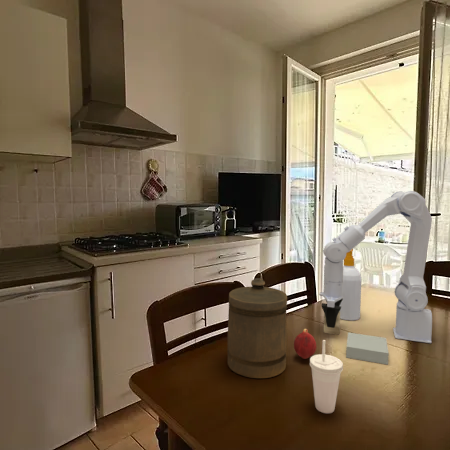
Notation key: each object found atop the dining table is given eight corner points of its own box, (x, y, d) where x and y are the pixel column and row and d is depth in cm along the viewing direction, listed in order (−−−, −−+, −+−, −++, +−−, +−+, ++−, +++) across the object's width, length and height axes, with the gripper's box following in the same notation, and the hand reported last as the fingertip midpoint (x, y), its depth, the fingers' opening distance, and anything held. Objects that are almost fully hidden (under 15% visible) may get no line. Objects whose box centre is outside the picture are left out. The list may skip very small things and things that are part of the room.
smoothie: (304, 398, 71) (305, 334, 69) (333, 397, 71) (335, 333, 70) (315, 418, 64) (316, 348, 63) (347, 416, 65) (349, 346, 64)
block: (339, 329, 108) (340, 311, 107) (338, 334, 103) (339, 316, 103) (325, 327, 109) (325, 309, 109) (323, 332, 105) (324, 314, 105)
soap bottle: (362, 314, 121) (365, 249, 119) (357, 322, 113) (360, 252, 111) (338, 310, 126) (340, 247, 124) (331, 317, 118) (333, 250, 116)
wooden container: (290, 355, 90) (291, 274, 88) (280, 384, 76) (282, 289, 74) (237, 347, 95) (237, 270, 93) (219, 372, 81) (219, 283, 79)
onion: (316, 365, 84) (317, 334, 84) (293, 363, 86) (294, 332, 85) (315, 354, 90) (316, 326, 89) (293, 352, 91) (294, 324, 91)
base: (385, 348, 94) (386, 337, 94) (388, 364, 85) (388, 353, 85) (347, 342, 98) (348, 332, 98) (346, 357, 89) (346, 346, 88)
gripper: (322, 274, 113) (321, 313, 114) (317, 284, 100) (315, 329, 101) (344, 276, 110) (343, 316, 112) (342, 287, 97) (340, 332, 98)
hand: (331, 322), depth 106 cm, fingers open, 7 cm apart
